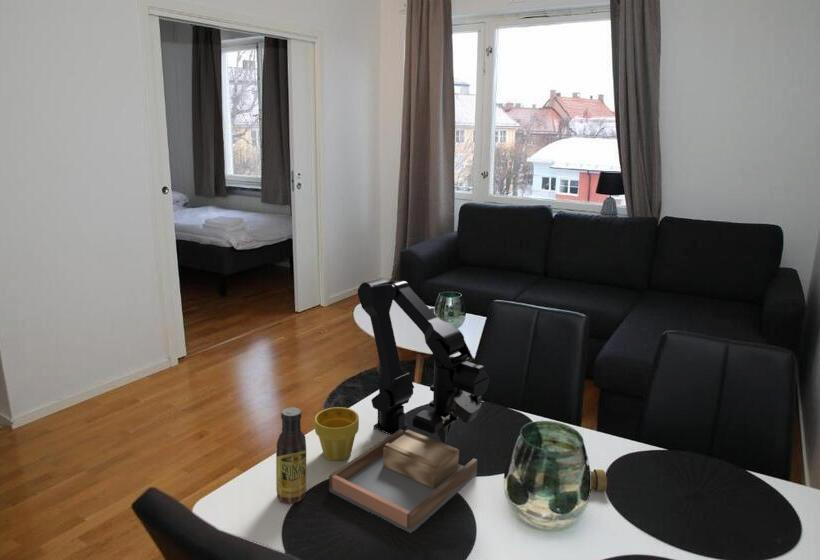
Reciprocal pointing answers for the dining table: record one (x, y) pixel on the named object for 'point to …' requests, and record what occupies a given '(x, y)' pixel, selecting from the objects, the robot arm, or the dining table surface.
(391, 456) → the brown wooden box
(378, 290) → the robot arm
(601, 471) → the gavel
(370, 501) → the bay
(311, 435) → the dining table surface
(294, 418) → the sauce bottle
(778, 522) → the dining table surface
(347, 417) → the plant pot
